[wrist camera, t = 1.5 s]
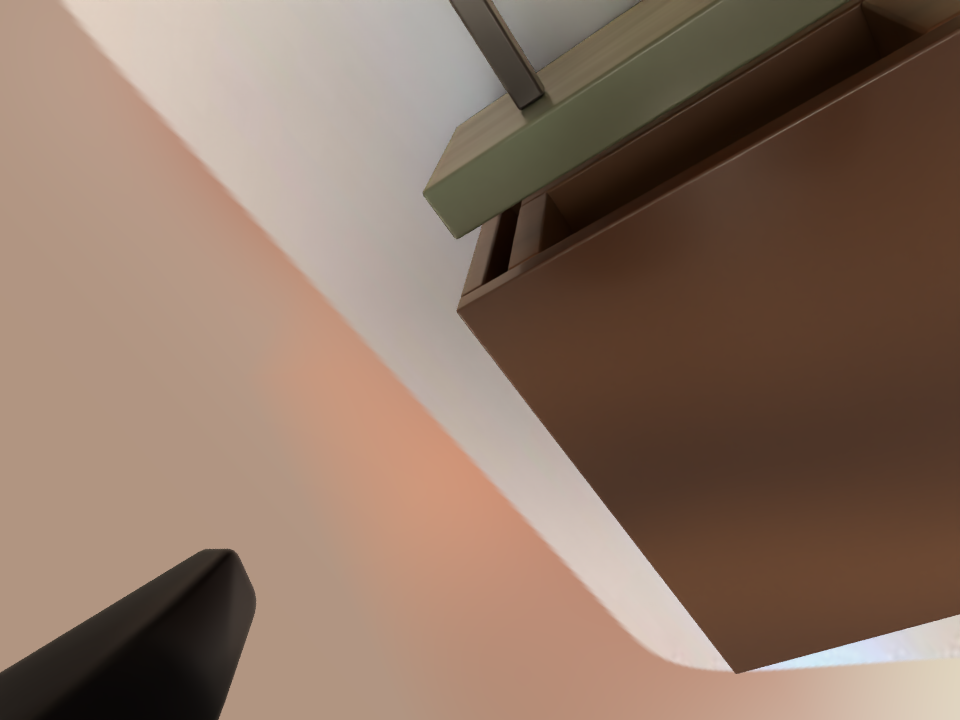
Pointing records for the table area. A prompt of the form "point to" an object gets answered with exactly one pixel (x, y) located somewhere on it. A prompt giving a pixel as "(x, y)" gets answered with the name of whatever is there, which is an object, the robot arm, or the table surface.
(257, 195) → the table surface
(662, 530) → the cabinet
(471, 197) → the drawer
